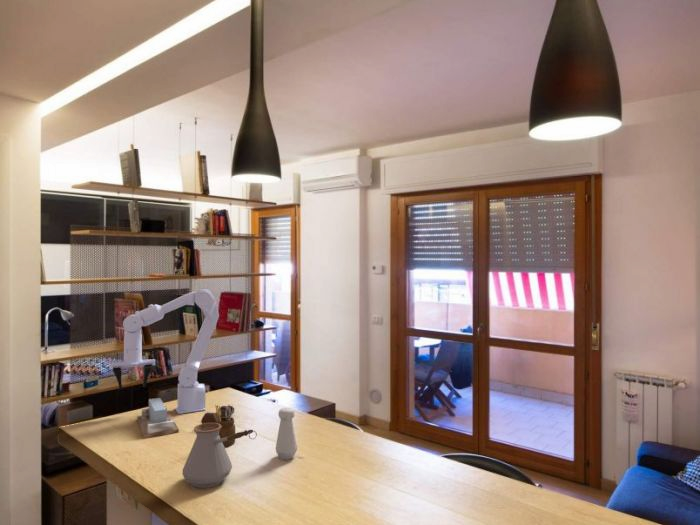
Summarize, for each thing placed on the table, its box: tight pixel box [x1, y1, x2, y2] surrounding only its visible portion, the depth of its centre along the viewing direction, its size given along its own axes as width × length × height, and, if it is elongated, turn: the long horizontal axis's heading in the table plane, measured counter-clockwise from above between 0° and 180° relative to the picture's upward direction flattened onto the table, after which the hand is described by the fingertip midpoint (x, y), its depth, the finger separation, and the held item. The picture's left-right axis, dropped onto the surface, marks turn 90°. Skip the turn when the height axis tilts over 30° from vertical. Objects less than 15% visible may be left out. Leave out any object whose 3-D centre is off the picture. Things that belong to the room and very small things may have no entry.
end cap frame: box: [136, 405, 180, 439], centre depth 149 cm, size 10×20×4 cm, turn 30°
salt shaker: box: [275, 407, 298, 461], centre depth 125 cm, size 6×6×13 cm
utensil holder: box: [214, 403, 236, 447], centre depth 134 cm, size 6×6×12 cm
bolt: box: [200, 405, 235, 424], centre depth 153 cm, size 6×5×15 cm
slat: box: [148, 397, 168, 424], centre depth 149 cm, size 4×15×6 cm, turn 30°
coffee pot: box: [182, 423, 258, 489], centre depth 108 cm, size 21×12×15 cm, turn 57°
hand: (132, 387), depth 161 cm, fingers open, 7 cm apart
